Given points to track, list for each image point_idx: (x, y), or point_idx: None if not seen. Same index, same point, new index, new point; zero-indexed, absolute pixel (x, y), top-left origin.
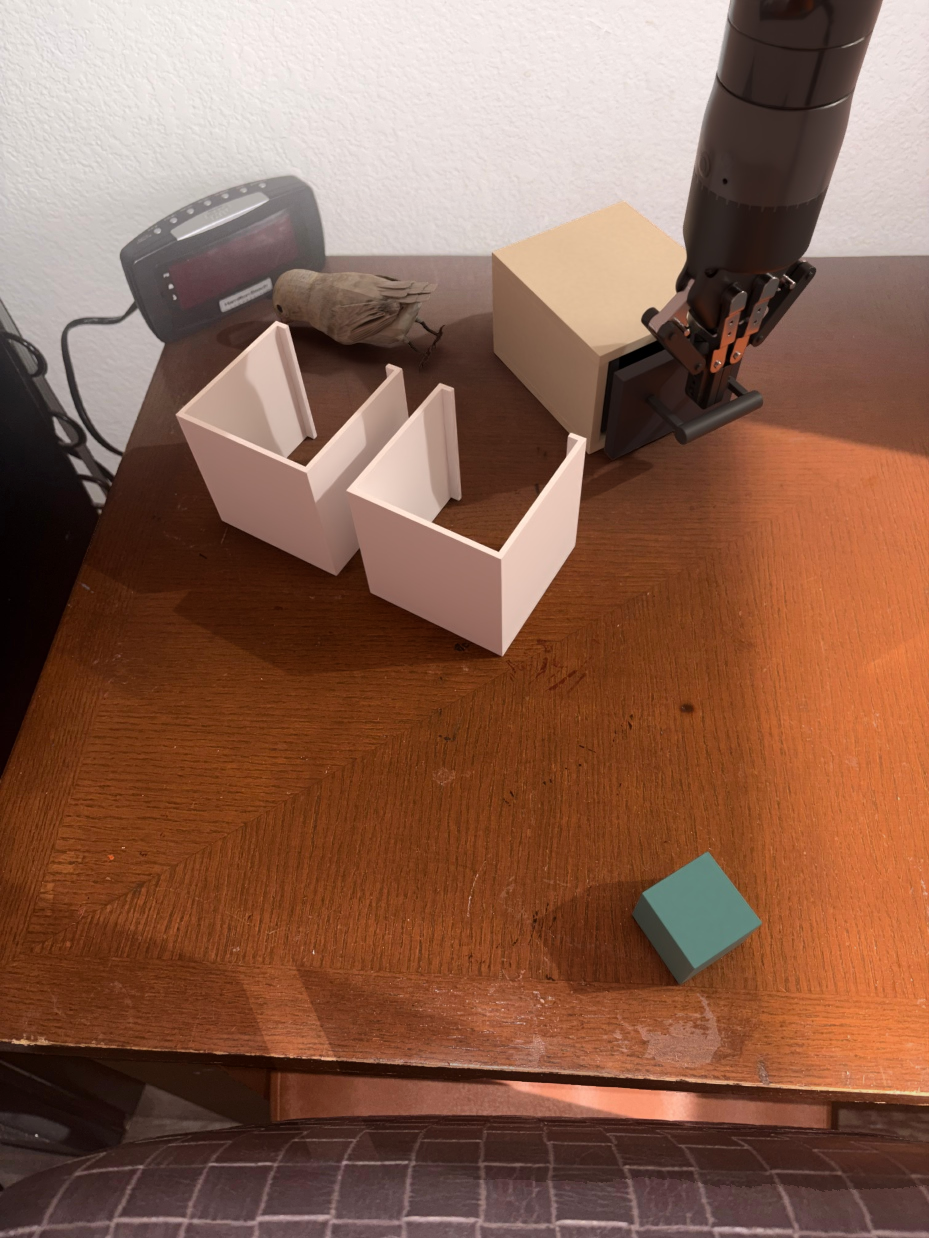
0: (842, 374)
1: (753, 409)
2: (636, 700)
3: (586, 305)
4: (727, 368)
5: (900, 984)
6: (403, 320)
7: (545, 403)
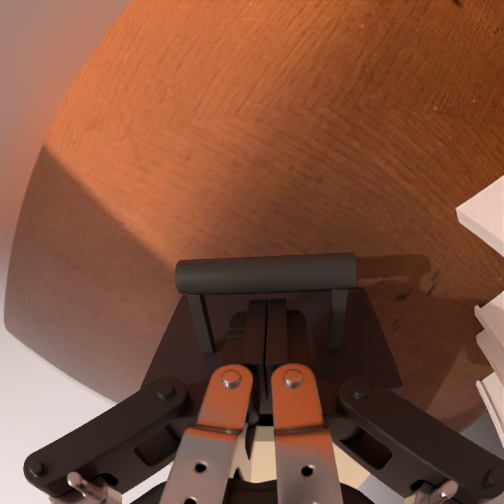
0: (60, 269)
1: (198, 261)
2: (488, 38)
3: (340, 470)
4: (251, 358)
5: None
6: None
7: None
